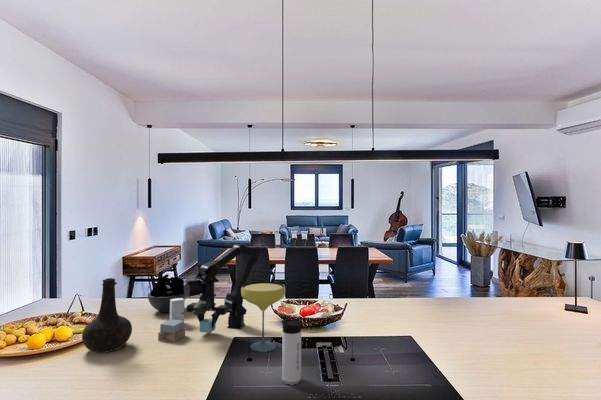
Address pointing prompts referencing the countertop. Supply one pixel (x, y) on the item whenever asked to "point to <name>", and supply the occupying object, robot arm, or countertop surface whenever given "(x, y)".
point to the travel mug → (291, 352)
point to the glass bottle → (107, 324)
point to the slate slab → (172, 326)
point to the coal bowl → (166, 293)
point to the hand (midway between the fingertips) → (207, 327)
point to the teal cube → (206, 326)
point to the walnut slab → (171, 336)
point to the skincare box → (177, 309)
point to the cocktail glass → (263, 304)
